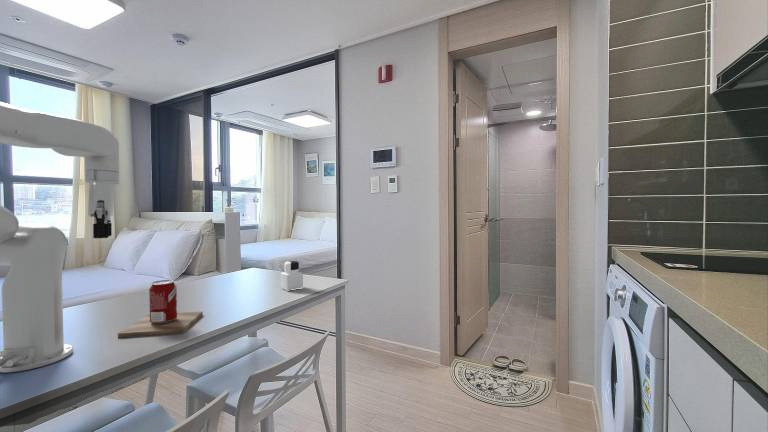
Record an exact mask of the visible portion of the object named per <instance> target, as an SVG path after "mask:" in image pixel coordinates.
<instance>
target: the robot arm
mask: <svg viewBox="0 0 768 432" xmlns="http://www.w3.org/2000/svg"><path fill="white" fill-rule="evenodd" d="M119 143H120V142H119V140H118V138H117V137H115V135H114V134H113V133H112V132H111V131H110V130H109V129H108V128H105V127H103V126H100V125H98V124H94V123H91V122H87V121H86V120H85V121H84V120H80V119H76V118H72V117H66V116H60V115H55V114H50V113H46V112H41V111H36V110H30V109H27V108H22V107H19V106H15V105H12V104H9V103H5V102H3V101H0V144H3V145H8V146H14V147H18V148H20V147H21V148H30V149H51V150H52V151H53V152H55V153H57V154H59V155H62V156H67V157H79V158H80V157H81V158H84V183H87V184H89V185H88V203H87V204H88V205H87V206H88V208H87V215H88V217H89V218H93V224H92V225H93V226H92V236H93V237H92V238H93V239H108V238H109V237H111V236H112V234H113V233H112V232H113V231H112V222H111V221H112V219H111V217H112V216H113V215H114V205H115V185H119V184H120V144H119ZM67 247H68V240H67V236H66V234H65V233H64V232H63V231H62V230H61V229H60V228H58V227H56V226H52V225H50V224H44V223H19V219H18V217H17V216H16V215H15V214H14V213H13V212H12V210H10V209H8V208H7V207H5V206H3V205H1V204H0V266H3V267H4V266H11V267H10V269H9V271H8V273H7V275H5V278H4V279H3V281H2V285H1V307H2V308H1V309H2V313H1V314H2V338H3V339H2V340H3V341H2V342H3V346H2V347H3V348H2V349H0V373H2V374H3V373H4V374H5V373H16V372H17V373H18V372H22V371H23V372H24V371H27V370H28V371H29V370H34V369H37V368H41V367H44V366H45V367H46V366H47V365H51V364H55V363H56V362H59V361H61V360H63V359H65V358H67V357H69V356H70V355H71V354H72V353H73V350H74V349H73V348H74V347H73V345H71V344H68V343H65V342H64V311H63V310H64V307H63V304H64V303H63V302H64V301H63V295H64V294H63V267H64V261H65V256H66V253H67Z"/></svg>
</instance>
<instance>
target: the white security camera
mask: <svg viewBox="0 0 768 432" xmlns="http://www.w3.org/2000/svg"><path fill="white" fill-rule="evenodd" d="M283 266H284V267H283V268H284V269H283V270H284V272H280V288H281V287H282V288H284V289H286V290H291V289H296V288H301V287H303V288H304V282H303V281H304V274H303V272H300V264H299V261H297V260H289V261H288V260H287V261H285V262H284V265H283Z"/></svg>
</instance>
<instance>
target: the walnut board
mask: <svg viewBox="0 0 768 432" xmlns="http://www.w3.org/2000/svg"><path fill="white" fill-rule="evenodd" d="M202 316H203V311H190V312H186V311H185V312H177V318H176V319H175V320H173V321H172V322H170V323H166V324H154V323H151V322H150V314H146V316H143V317H142V318H140V319H139V320H137V321H136V322H134V323H133V324H131V325H129V326H128V327H126V328H125V329H122V330H120V332H117V338H119V339H123V338H133V337H134V338H135V337H137V338H138V337H149V336H162V335H163V336H164V335H176V334H177V335H178V334H184V333H185V332H186V331H188V329H189V328H190V327H191V326H193V325H194V324H195V323H196V322H197V321H198V320H199V319H200V318H202Z"/></svg>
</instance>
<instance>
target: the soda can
mask: <svg viewBox="0 0 768 432" xmlns="http://www.w3.org/2000/svg"><path fill="white" fill-rule="evenodd" d="M174 282H175V281H174V280H173V279H163V280H161V279H159V280H156V281H152V282H151V286H150V288H149V292H148V293H149V295H148V296H149V298H148V299H149V315H150V322H151V323H154V324H166V323H170V322H172V321H173V320H175V319H176V318H177V313H178V293H177V291H178V286H177V285H176V284H175V283H174Z"/></svg>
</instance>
